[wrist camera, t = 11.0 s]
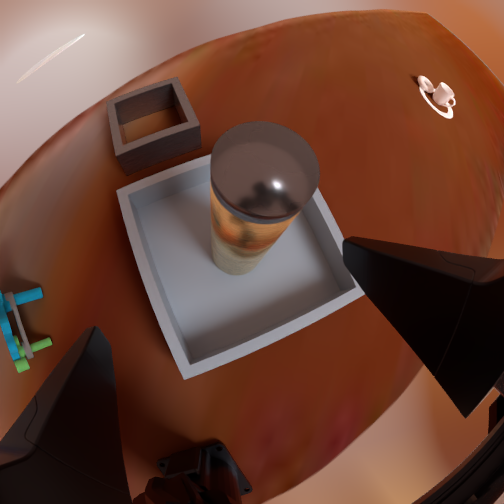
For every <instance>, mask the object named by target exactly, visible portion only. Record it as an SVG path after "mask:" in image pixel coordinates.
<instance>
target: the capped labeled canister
mask: <svg viewBox="0 0 504 504" xmlns="http://www.w3.org/2000/svg"><path fill="white" fill-rule="evenodd" d="M319 178H320V170H319V164H318V160H317V158H316V155H315V153H314V151H313V150H312V148H311V147H310V145H309V144H308V143H307V142H306V141H305V140H304V139H303V138H302V137H301V136H300V135H298V134H297V133H296V132H294V131H292V130H291V129H289V128H286V127H284V126H282V125H279V124H275V123H271V122H263V121H255V122H247V123H243V124H240V125H237V126H235V127H233V128H231V129H229V130H228V131H227V132H225V133H224V134H223V135H222V136H221V137H220V138H219V139H218V141H217V142H216V144H215V146H214V148H213V150H212V153H211V159H210V210H211V253H212V258H213V261H214V263H215V264H216V266H217V267H218V268H219V269H220V270H221V271H223V272H225V273H227V274H230V275H235V276H238V275H244V274H247V273H249V272H250V271H252V270H253V269H254V268H255V267H256V266H257V265H258V263H259V262H260V261H261V260H262V258H263V257H264V256H265V255H266V253H267V252H268V251H269V250H270V249H271V247H272V246H273V245H274V244H275V242H276V241H277V240H278V239H279V237H280V236H281V235H282V234H283V232H284V231H285V230H286V229H287V227H288V226H289V225H290V224H291V222H292V221H293V220H294V219H295V217H296V216H297V215H298V214H299V212H300V211H301V210H302V209H303V207H304V206H305V205H306V204H307V202H308V201H309V200H310V198H311V197H312V196H313V194H314V193H315V191H316V189H317V186H318V183H319Z"/></svg>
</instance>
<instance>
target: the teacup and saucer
mask: <svg viewBox="0 0 504 504" xmlns="http://www.w3.org/2000/svg"><path fill="white" fill-rule="evenodd" d="M418 83H419V85H420V86H419V89H420V92H421V94H422V96H423V97H424V99H425V100H426V101H427V103H428V104H429V105H430V106H431V107H432V108H433V109H434V110H435V111H436V112H438V113H439V114H440V115H442V116H444V117H446V118H452V117H453V111H452V109H451V106H454V105H455V99H454V98H453V96H454V93H453V91H452V90H451V89H450V87H449V86H447V85H446V84H445V83H442V82H441V83H440V85H439V86H438V87H437V89H436V90H435V89H434V88H433V85H432V84H431V82H430V81H429V80H428V79H427V78H426V77H424V76H419V77H418ZM424 91H426V92H427V93H433V91H434V93H433V97H432V98H433V100H434V101H435V102H436V103H437V104H438V105H442V106H445V107H448V113H443V112H441V111H439V110H438V109H437V108H435V107H434V106H433V105H432V104H431V103H430V101H429V100H428V99H427V97H426V96H425V93H424ZM450 99H452V100H453V101H454V104H453V105H449V103H448V101H449V100H450ZM444 104H446V105H444Z"/></svg>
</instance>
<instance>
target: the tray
mask: <svg viewBox="0 0 504 504" xmlns="http://www.w3.org/2000/svg"><path fill="white" fill-rule="evenodd" d="M210 159H211V154H210V155H207V156H204V157H201V158H198V159H195V160H192V161H189V162H186V163H184V164H181V165H178V166H175V167H173V168H170V169H167V170H165V171H162V172H159V173H157V174H154V175H152V176H149V177H147V178H144V179H142V180H139V181H137V182H135V183H132V184H130V185H128V186H125V187H123V188H121V189H118V190H116V191H117V195H118V199H119V203H120V207H121V211H122V215H123V219H124V222H125V226H126V229H127V233H128V236H129V240H130V243H131V246H132V249H133V253H134V256H135V259H136V262H137V265H138V268H139V271H140V274H141V277H142V280H143V283H144V285H145V288H146V291H147V294H148V296H149V299H150V302H151V304H152V307H153V310H154V312H155V315H156V317H157V320H158V322H159V325H160V327H161V329H162V332H163V334H164V337H165V339H166V341H167V344H168V346H169V348H170V350H171V353H172V355H173V357H174V359H175V361H176V363H177V366H178V368H179V370H180V372H181V374H182V376H183V378H184V380H185V379H188V378H190V377H193V376H196V375H198V374H201V373H203V372H206V371H209V370H211V369H214V368H216V367H219V366H221V365H223V364H226V363H228V362H231V361H233V360H235V359H238V358H240V357H242V356H245V355H247V354H249V353H251V352H254V351H256V350H258V349H260V348H262V347H265V346H267V345H269V344H271V343H273V342H275V341H277V340H280V339H282V338H284V337H286V336H288V335H290V334H292V333H294V332H296V331H298V330H300V329H302V328H304V327H306V326H308V325H310V324H312V323H314V322H315V321H317V320H319V319H321V318H323V317H325V316H327V315H329V314H330V313H332V312H334V311H336V310H338V309H340V308H341V307H343V306H345V305H347V304H348V303H350V302H352V301H354V300H355V299H357V298H359V297H361V296H362V295H364V294H365V293H364V292H363V290H362V289H361V287H360V286H359V285H358V283H357V282H356V280H355V279H354V278H353V276H352V275H351V274H350V272H349V271H348V269H347V268H346V267H345V265H344V263H343V253H342V242H343V240H344V238H343V236H342V234H341V232H340V230H339V228H338V226H337V224H336V222H335V220H334V218H333V216H332V214H331V212H330V210H329V208H328V206H327V204H326V202H325V201H324V199H323V197H322V195H321V193H320V191H319V189H318V188H317V189H316V191H315V193H314V194H313V196H312V197H311V198H310V200H309V201H308V202H307V204H306V205H305V206H304V207H303V209H302V210H301V211H300V212H299V214H298V215H297V216H296V217H295V219H294V220H293V221H292V222H291V224H290V225H289V226H288V227H287V229H286V230H285V231H284V232H283V234H282V235H281V236H280V237H279V239H278V240H277V241H276V242H275V244H274V245H273V246H272V247H271V249H270V250H269V251H268V252H267V253H266V255H265V256H264V257H263V258H262V260H261V261H260V262H259V263H258V265H257V266H256V267H255V268H254V269H253V270H252V271H250V272H249V273H247V274H244V275H238V276H235V275H230V274H227V273H225V272H223V271H221V270H220V269H219V268H218V267H217V266H216V264H215V263H214V261H213V258H212V253H211V210H210Z"/></svg>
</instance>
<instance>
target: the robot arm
mask: <svg viewBox="0 0 504 504" xmlns="http://www.w3.org/2000/svg"><path fill="white" fill-rule="evenodd" d="M342 253H343V263H344V265H345V267H346V268H347V269H348V271H349V272H350V274H351V275H352V276H353V278H354V279H355V280H356V282H357V283H358V285H359V286H360V287H361V289H362V290H363V292H364V293H365V294H366V295H367V297H368V298H369V299H370V300H371V301H372V302H373V304H374V305H375V306H376V307H377V308H378V309H379V310H380V312H381V313H382V314H383V315H384V316H385V317H386V318H387V320H388V321H389V322H390V323H391V324H392V326H393V327H394V328H395V329H396V330H397V331H398V333H399V334H400V335H401V336H402V337H403V339H404V340H405V341H406V342H407V343H408V345H409V346H410V347H411V348H412V350H413V351H414V352H415V353H416V355H417V356H418V357H419V358H420V359H421V361H422V362H423V363H424V365H425V366H426V367H427V368H428V369H429V371H430V372H431V373H432V375H433V376H435V379H436V380H437V381H438V383H439V384H440V385H441V386H442V388H443V389H444V391H445V392H446V393H447V395H448V396H449V397H450V399H451V400H452V401H453V403H454V404H455V406H456V407H457V408H458V409H459V411H460V413H461V414H462V415H463V416H464V417H465V418H467V417H468V416H469V415H470V414H471V413H472V412H473V411H474V410H475V409H476V407H477V406H478V405H479V404H480V403H481V402H482V401H483V399H485V397H486V396H487V395H488V394H489V393H490V392H491V390H492V389H493V388H495V389H496V390H497V391H498V392H499V393H500V395H499V396H498V397H497V398H496V400H495V401H494V402H493V403H492V404H491V406H490V407H489V428H488V436H487V437H486V438H485V439H484V440H483V441H482V442H481V443H480V445H478V447H477V448H476V449H475V450H474V451H473V452H472V453H471V454H470V455H469V456H468V457H467V458H466V459H465V460H464V461H463V462H462V463H461V464H460V465H459V466H457V467H456V468H455V469H454V470H453V471H452V472H451V473H450V474H449V475H448V476H446V477H445V478H444V479H443V480H442V481H441V482H439V483H438V484H437V485H436V486H434V487H433V488H432V489H431V490H429V491H428V492H427V493H426V494H424V495H423V496H421V497H420V498H419V499H417V500H416V501H415V502H413V503H412V504H504V259H492V258H484V257H477V256H469V255H462V254H456V253H450V252H444V251H437V250H433V249H427V248H422V247H416V246H410V245H404V244H398V243H392V242H386V241H380V240H374V239H367V238H361V237H354V236H352V237H349V238H346V239H344V240H343V242H342ZM219 446H220V447H222V448H221V449H217V447H219ZM160 463H164V464H165V465H161V464H160ZM157 466H158V468H159V469H160V471H161V472H162V473H163V475H164V478H160V477H153V478H151V479H149V481H148V483H147V486H146V489H145V492H144V493H141V494H139V495H138V496H137V497H136V498H134V499H133V503H132V499H131V496H130V491H129V487H128V482H127V477H126V472H125V466H124V460H123V454H122V447H121V439H120V431H119V421H118V410H117V395H116V382H115V375H114V368H113V360H112V351H111V346H110V343H109V342H108V340H107V339H106V337H105V336H104V334H103V333H102V332H101V330H100V329H99V328H98V327H97V326H93V327H90V328H87V329H86V330H85V331H84V332H83V333H82V335H81V336H80V337H79V338H78V339H77V341H76V342H75V343H74V344H73V346H72V347H71V348H70V349H69V351H68V352H67V353H66V354H65V356H64V357H63V358H62V359H61V361H60V362H59V363H58V364H57V366H56V367H55V368H54V370H53V371H52V372H51V374H50V375H49V376H48V378H47V379H46V380H45V382H44V383H43V384H42V386H41V387H40V388H39V390H38V391H37V393H36V396H34V397H33V398H32V400H31V401H30V402H29V404H28V405H27V407H26V408H25V409H24V411H23V412H22V414H21V415H20V416H19V418H18V419H17V420H16V422H15V423H14V424H13V425H12V427H11V428H10V429H9V431H8V432H7V433H6V435H5V436H4V438H3V439H2V440H1V442H0V504H242V501H241V496H242V495H245V494H248V493H250V492H252V486H251V485H250V483H249V482H248V480H247V479H246V477H245V476H244V474H243V473H242V471H241V470H240V468H239V467H238V465H237V464H236V462H235V461H234V459H233V458H232V456H231V454H230V453H229V451H228V450H227V448H226V446H225V445H224V444H223V443H221V442H217V443H214V444H211V445H208V446H205V447H202V448H199V447H195V448H192V449H188V450H185V451H181V452H177V453H174V454H172V455H171V456H170V457H166V458H162V459H159V460H158V461H157ZM245 488H249V489H245Z"/></svg>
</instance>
